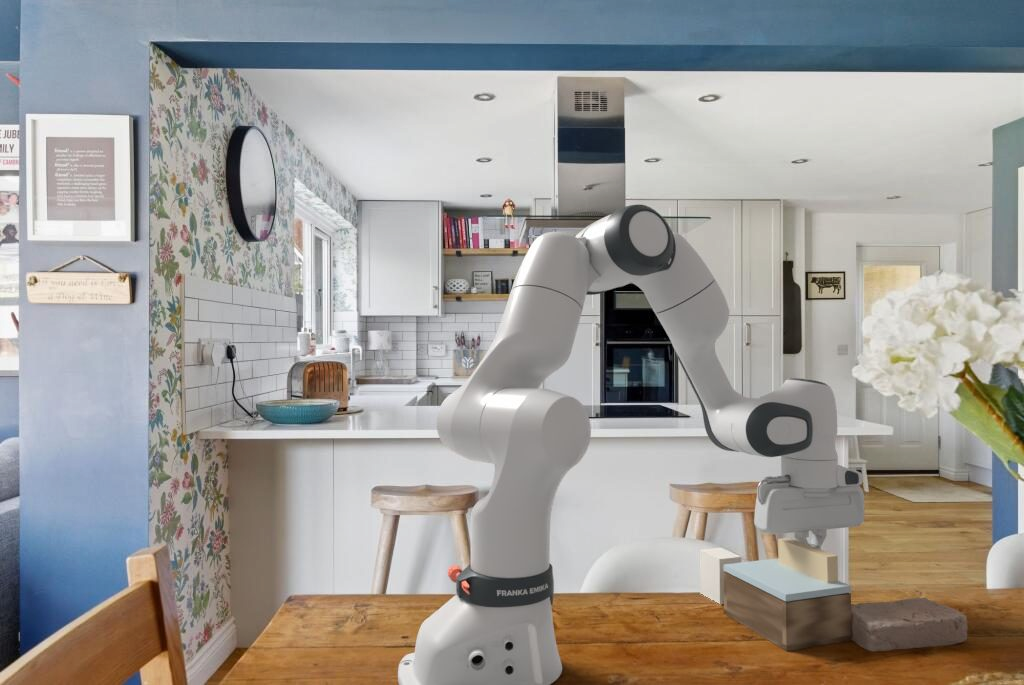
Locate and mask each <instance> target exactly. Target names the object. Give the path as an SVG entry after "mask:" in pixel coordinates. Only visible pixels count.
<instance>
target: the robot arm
mask: <svg viewBox="0 0 1024 685" xmlns="http://www.w3.org/2000/svg"><path fill="white" fill-rule="evenodd" d="M629 284H633V285H634V286H636V287H638V288H639V289H640V290H641V291H642V292H643V294H644V296H645V297H646V300H647V302H648V303H649V305H650V307H651V309H652V311H653V312H654V314H655V316H656V317H657V319H658V321H659V322H660V325H661V326H662V328H663V329H664V331H665V333H666V335H667V336H668V338H669V341H670V342H671V344H672V345H671V346H672V347H673V350H674V352H675V355H676V358H677V360H678V361H679V363H680V366H681V368H682V370H683V372H684V374H685V376H686V378H687V380H688V382H689V384H690V386H691V388H692V390H693V392H694V394H695V396H696V398H697V400H698V402H699V404H700V408H701V411H702V418H703V424H704V428H705V432H706V434H707V436H708V438H709V440H710V441H711V442H712V443H713V444H714V445H715V446H716V447H718V448H719V449H721V450H724V451H727V452H740V453H744V454H747V455H751V456H758V457H761V458H762V457H763V458H775V457H781V458H780V460H781V461H780V462H781V463H780V467H781V468H780V469H781V470H780V472H781V475H776V476H765V477H763V478H764V479H762V480H761V481H760V482H759V483H758V485H757V488H756V490H757V491H756V500H755V507H754V520H753V522H754V527H756V529H757V531H759V532H762V533H764V534H767V535H781V534H792V533H793V534H792V535H793V537H794V538H795V539H794V540H795V541H798V542H801V543H804V544H806V545H809V546H812V547H815V548H817V549H820V550H822V545H823V543H824V542H825V540H826V538H827V534H828V533H827V530H833V529H834V530H836V529H842V528H843V529H844V528H855V527H856V528H857V527H860V526H861V525H863V523H864V521H865V513H866V512H865V510H866V509H865V508H866V505H865V496H864V495H865V494H864V490H863V488H862V487H861V485H862V484H863V482H864V475H863V473H862V472H860V471H857V470H855V469H851V468H848V467H845V466H842V465H840V464H839V462H838V461H839V460H838V458H839V456H838V452H837V450H836V439H837V435H838V414H837V412H838V411H837V404H836V397H835V395H834V392H833V389H832V387H831V386H829V385H828V384H827V383H825V382H823V381H818V380H812V379H805V378H799V377H797V378H795V377H794V378H789V379H788V378H787V379H786V380H784V381H783V383H782V384H781V385H780V386H779V387H778V388H776V389H775V390H773V391H771V392H769V393H767V394H765V395H762V396H760V397H759V398H753V397H746V396H744V395H742V394H740V393H739V392H737V390H735V389H734V388H733V386H732V385H731V383H730V380H729V378H728V376H727V375H726V374H727V373H726V372H725V370H724V368H723V365H722V364H721V362H720V360H719V357H718V354H717V353H716V342H717V340H718V339H719V338H720V336H721V335H722V334H723V332H725V330H726V327H727V324H728V322H729V318H730V308H729V306H728V302H727V299H726V297H725V294H724V292H723V290H722V288H721V286H720V285H719V283H718V282H717V280H716V278H715V277H714V275H713V274H712V272H711V270H710V269H709V267H708V266H707V264H706V263H705V261H704V260H703V258H702V257H701V256H700V255H699V253H698V252H697V251H696V250H695V248H694V247H693V246H692V245H691V243H689V242H688V240H687V239H686V238H685V237H684V236H683V235H682V234H680V233H678V232H675V231H672V228H671V227H670V225H669V224H668V222H667V220H666V219H665V218H664V217H663V216H662V214H660V213H659V212H657V210H655V209H653V208H652V207H650V206H648V205H645V204H631V205H627V206H624V207H620V208H618V209H616V210H615V211H614V212H612V213H611V214H608V215H606V216H604V217H602V218H600V219H598V220H595V221H593V222H592V223H590V224H589V225H587V226H585V228H583V229H582V230H581V231H580V232H578V233H577V234H575V235H573V234H570V233H568V232H564V231H548V232H545V233H542V234H541V235H539V236H536V238H535V239H534V241H533V242H532V243H531V244H530V247H529V248H528V250H527V251H526V253H525V255H524V258H523V260H522V262H521V264H520V265H519V269H518V271H517V274H516V275H515V277H514V280H513V283H512V287H511V290H510V292H509V296H508V298H507V299H508V300H507V301H506V306H505V307H504V311H503V314H502V317H501V319H500V322H499V326H498V328H497V331H496V334H495V336H494V338H493V341H492V343H491V345H490V346H489V348H488V350H487V351H486V352H485V354H484V356H483V357H482V359H481V360H480V362H478V363H479V364H478V365H477V366H476V368H475V369H474V371H473V372H472V373H471V375H470V376H469V377H467V380H465V382H464V383H463V384H462V385H461V386H459V387H458V388H457V389H456V390H454V391H453V392H451V393H450V394H449V395H448V396H446V398H445V399H444V400H443V401H442V403H441V405H440V406H439V409H438V412H437V416H436V430H437V435H438V437H439V439H440V441H441V442H442V444H443V445H444V446H445V447H446V448H447V449H448V450H450V451H451V452H453V453H455V454H457V455H459V456H461V457H463V458H465V459H468V460H471V461H475V462H481V463H487V464H492V465H494V475H493V478H492V483H491V486H490V487H489V488H490V489H489V492H488V493H487V494H486V495H485V496H483V497H481V499H479V500H478V501H477V502H476V503H475V504H474V506H473V508H472V510H471V512H470V520H469V521H470V522H469V523H470V563H469V565H468V566H466V567H465V568H464V569H463V570H462V568H461V566H459V565H458V564H452V565H451V566H449V568H448V569H447V577H449V579H450V581H451V582H452V583H455V586H456V588H455V590H456V594H455V595H453V597H451V598H450V599H449V600H448V601H446V603H445V604H443V605H442V606H441V607H440V608H438V609H437V610H436V611H435V612H434V613H432V614H431V615H430V616H429V617H427V618H426V619H425V620H424V621H423V622H422V623H421V625H420V627H419V630H418V631H417V632H418V633H417V635H416V641H415V647H414V652H411V653H407V654H405V655H404V656H403V657H402V659H401V660H400V662H399V664H398V669H397V682H398V685H551V684H553V683H554V682H556V681H557V680H558V679H559V677H560V676H561V674H562V672H563V665H562V661H561V657H560V653H559V651H558V645H557V642H556V635H555V628H554V621H553V613H552V612H553V611H552V606H553V604H554V594H555V593H554V592H555V585H554V584H555V580H554V573H553V572H554V571H553V565H552V563H550V562H551V561H550V558H551V557H550V554H551V553H550V550H551V548H550V545H551V544H550V542H551V541H550V540H551V538H550V537H551V518H552V510H553V505H554V501H555V497H556V493H557V492H558V489H559V487H560V484H561V483H562V481H563V479H564V477H565V476H566V475H567V473H568V472H569V471H570V470H572V469H573V468H574V467H575V466H577V465H578V464H579V463H580V462H581V461H582V459H583V458H584V456H585V455H586V453H587V451H588V448H589V445H590V442H591V436H592V434H591V433H592V426H591V420H590V418H589V414H588V412H587V409H586V408H585V407H584V405H583V403H582V402H581V401H579V400H578V399H577V398H576V397H573V396H570V395H567V394H564V393H561V392H558V391H555V390H551V389H547V388H540V387H541V385H542V384H543V383H544V382H545V381H546V379H547V378H548V377H550V376H552V374H553V373H555V372H557V371H558V370H560V369H561V368H562V367H563V366H564V365H566V363H567V362H568V360H569V358H570V356H571V353H572V350H573V347H574V342H575V339H576V335H577V332H578V327H579V324H580V320H581V316H582V313H583V309H584V307H585V306H584V305H585V301H586V296H588V295H589V296H592V295H600V294H603V293H605V292H607V291H610V290H613V289H616V288H622V287H624V286H626V285H629ZM810 533H811V534H812V537H811V539H810V542H808V539H807V538H809V537H810V536H809V534H810Z"/></svg>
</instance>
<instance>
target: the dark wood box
mask: <svg viewBox="0 0 1024 685" xmlns="http://www.w3.org/2000/svg"><path fill="white" fill-rule="evenodd" d="M851 604H852V594H851V592H850V593H843V594H836V595H829V596H822V597H815V598H808V599H801V600H793V601H784V600H782V599H780V598H778V597H776V596H774V595H772V594H770V593H768V592H766V591H764V590H762V589H760V588H758V587H755V586H753V585H751V584H749V583H747V582H745V581H743V580H741V579H739V578H737V577H735V576H733V575H731V574H729V573H727V572H724V605H723V614H724V615H725V614H726V615H725V616H728V618H730V619H732V620H733V621H735V622H737V623H739V624H741V625H742V626H744V627H745V628H747V629H749V630H750V631H751V632H753V633H756V634H757V635H759V636H761V637H762V638H763V639H765V640H767V641H769V642H770V643H772V644H774V645H776V646H777V647H779V648H780V649H782V650H784V651H785V652H789V651H796V650H802V649H807V648H813V647H819V646H826V645H832V644H837V643H843V642H849V641H853V640H852V627H851Z"/></svg>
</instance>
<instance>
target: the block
mask: <svg viewBox="0 0 1024 685" xmlns="http://www.w3.org/2000/svg"><path fill="white" fill-rule="evenodd" d="M741 562H742V556H741V555H739V554H736V553H734V552H732V551H730V550H727V549H726V548H723V547H715V548H714V547H713V548H704V549H703V548H702V549H699V594H700V595H701V594H703V595H704V596H703V595H702V596H703V597H705V596H706V597H708V598H710V599H711V600H710V599H709V600H710V601H712V600H714V601H715V602H717V603H719V604H724V572H725V571H724V569H723V565H724V564H733V563H741ZM706 597H705V598H706ZM708 598H707V599H708ZM715 602H714V603H715ZM717 603H716V604H717Z"/></svg>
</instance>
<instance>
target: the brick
mask: <svg viewBox="0 0 1024 685" xmlns="http://www.w3.org/2000/svg"><path fill="white" fill-rule="evenodd" d="M967 618H968V617H967V616H966V615H965V613H962V612H961V611H959V610H957V609H954V608H952V607H950V606H947V605H945V604H942V603H939V602H937V601H933V600H930V599H928V598H927V597H913V598H903V599H898V600H894V601H891V602H890V601H887V602H885V601H882V602H879V601H878V602H859V603H858V602H857V603H851V627H852V640H851V641H854V642H855V644H857V645H858V646H860V647H861V648H864V649H865V650H866V651H869V652H887V651H888V652H889V651H893V650H907V649H920V648H929V647H943V646H951V645H955V644H960V643H964V642H965V641H966V640H967V637H968V628H969V627H968V619H967Z"/></svg>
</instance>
